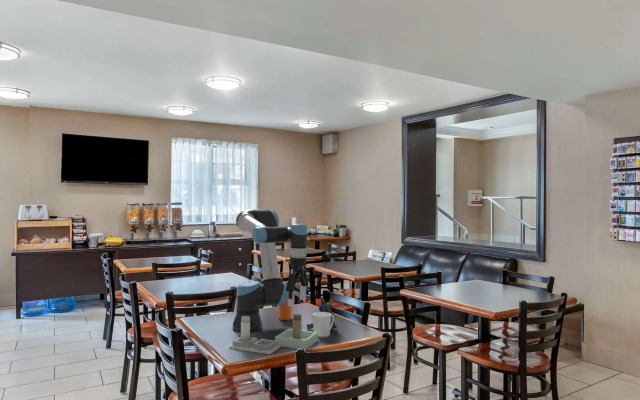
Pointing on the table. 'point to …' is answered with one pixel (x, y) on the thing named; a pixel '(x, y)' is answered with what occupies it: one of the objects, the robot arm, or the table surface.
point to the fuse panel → (256, 345)
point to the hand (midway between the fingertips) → (297, 302)
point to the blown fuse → (297, 326)
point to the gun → (324, 308)
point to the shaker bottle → (285, 310)
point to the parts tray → (287, 339)
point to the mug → (322, 323)
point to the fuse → (245, 328)
